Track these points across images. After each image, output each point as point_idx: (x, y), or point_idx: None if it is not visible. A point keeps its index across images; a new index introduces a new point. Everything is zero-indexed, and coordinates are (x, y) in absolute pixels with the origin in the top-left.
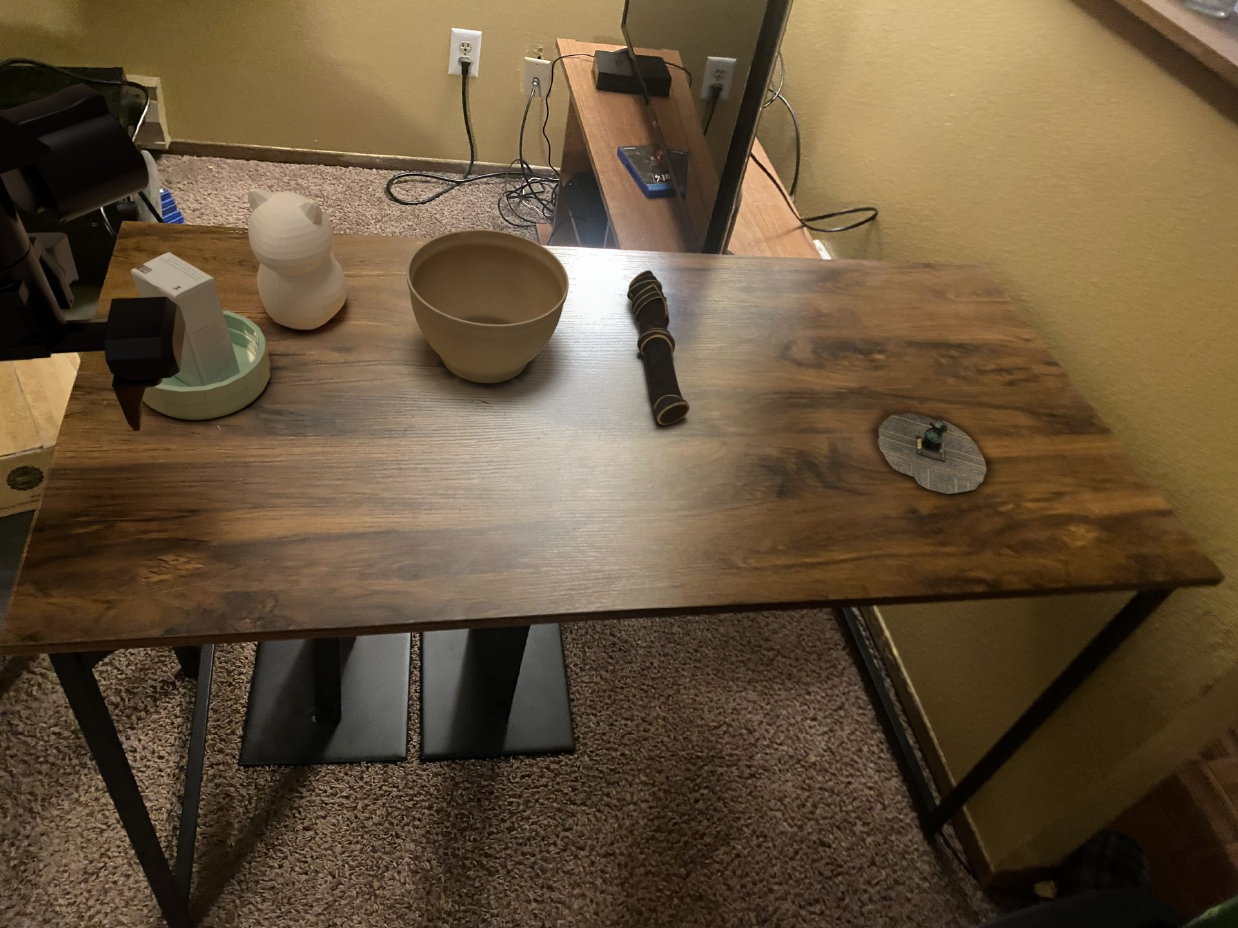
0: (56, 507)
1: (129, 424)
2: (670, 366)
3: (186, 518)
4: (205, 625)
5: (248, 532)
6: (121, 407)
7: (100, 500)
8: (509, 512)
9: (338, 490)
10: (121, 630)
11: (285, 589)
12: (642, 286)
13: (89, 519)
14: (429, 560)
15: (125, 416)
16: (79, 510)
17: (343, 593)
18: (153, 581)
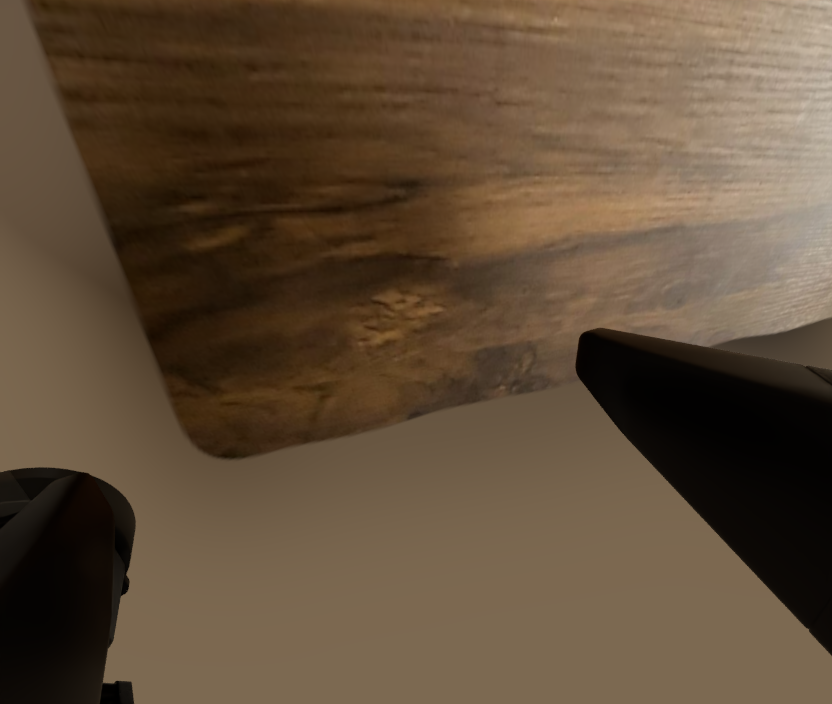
0: (108, 170)
1: (614, 422)
2: None
3: (402, 204)
4: (455, 402)
5: (502, 236)
6: (735, 551)
7: (209, 147)
8: (803, 188)
9: (636, 132)
10: (352, 426)
11: (545, 337)
12: None
13: (209, 209)
14: (699, 276)
15: (667, 480)
16: (173, 181)
17: None
18: (375, 345)
